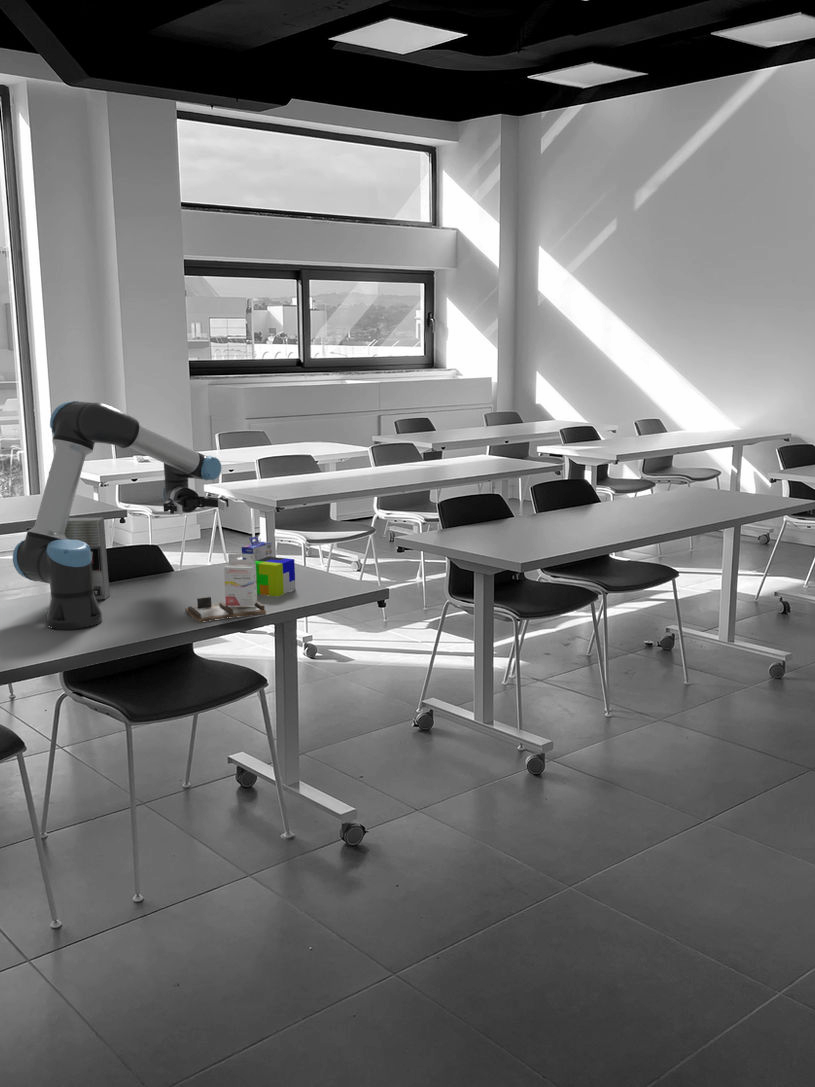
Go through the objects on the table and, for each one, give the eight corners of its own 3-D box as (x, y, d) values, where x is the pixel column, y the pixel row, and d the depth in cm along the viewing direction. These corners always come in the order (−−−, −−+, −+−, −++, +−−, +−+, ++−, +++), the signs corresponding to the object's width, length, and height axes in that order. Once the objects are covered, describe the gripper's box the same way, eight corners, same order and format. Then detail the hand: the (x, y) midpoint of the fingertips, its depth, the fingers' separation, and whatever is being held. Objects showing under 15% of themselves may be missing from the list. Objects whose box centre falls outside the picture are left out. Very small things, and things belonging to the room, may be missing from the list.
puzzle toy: (295, 589, 337) (294, 559, 335) (277, 597, 328) (276, 565, 326) (269, 586, 341) (268, 556, 339) (251, 593, 333) (249, 562, 331)
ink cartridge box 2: (261, 576, 355) (260, 534, 352) (274, 578, 352) (272, 535, 350) (242, 582, 347) (240, 539, 344) (255, 584, 344) (253, 541, 341)
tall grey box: (60, 601, 327) (53, 521, 322) (66, 596, 333) (59, 518, 328) (104, 600, 327) (98, 520, 322) (110, 595, 333) (104, 517, 328)
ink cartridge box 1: (225, 606, 309) (222, 556, 306) (229, 601, 314) (227, 553, 311) (253, 606, 308) (251, 557, 305) (257, 602, 313) (255, 553, 310)
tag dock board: (198, 623, 300) (198, 609, 299) (185, 611, 312) (184, 598, 311) (265, 613, 309) (265, 600, 308) (250, 603, 321) (249, 590, 320)
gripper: (223, 507, 343) (243, 517, 324) (146, 514, 332) (162, 524, 313) (222, 484, 341) (242, 493, 323) (144, 490, 330) (161, 499, 312)
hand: (203, 508), depth 318 cm, fingers open, 13 cm apart
